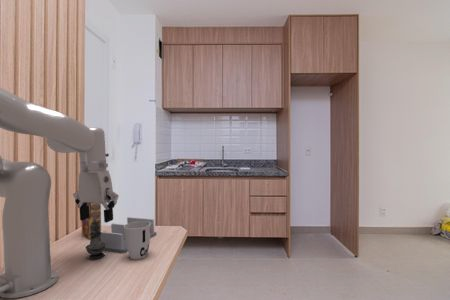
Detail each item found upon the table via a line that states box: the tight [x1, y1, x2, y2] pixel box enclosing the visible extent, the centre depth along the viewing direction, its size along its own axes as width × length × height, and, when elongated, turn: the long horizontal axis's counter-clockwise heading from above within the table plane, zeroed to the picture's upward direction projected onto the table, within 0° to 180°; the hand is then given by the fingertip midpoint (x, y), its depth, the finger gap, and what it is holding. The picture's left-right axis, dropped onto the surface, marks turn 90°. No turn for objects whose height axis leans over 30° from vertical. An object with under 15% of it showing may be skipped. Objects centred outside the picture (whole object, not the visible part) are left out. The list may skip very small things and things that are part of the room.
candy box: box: [80, 203, 102, 240], centre depth 106 cm, size 9×4×15 cm, turn 49°
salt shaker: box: [85, 220, 106, 261], centre depth 86 cm, size 6×6×12 cm
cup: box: [124, 221, 151, 260], centre depth 86 cm, size 8×8×10 cm
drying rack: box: [100, 216, 157, 254], centre depth 100 cm, size 18×14×6 cm
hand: (96, 220), depth 87 cm, fingers open, 9 cm apart
